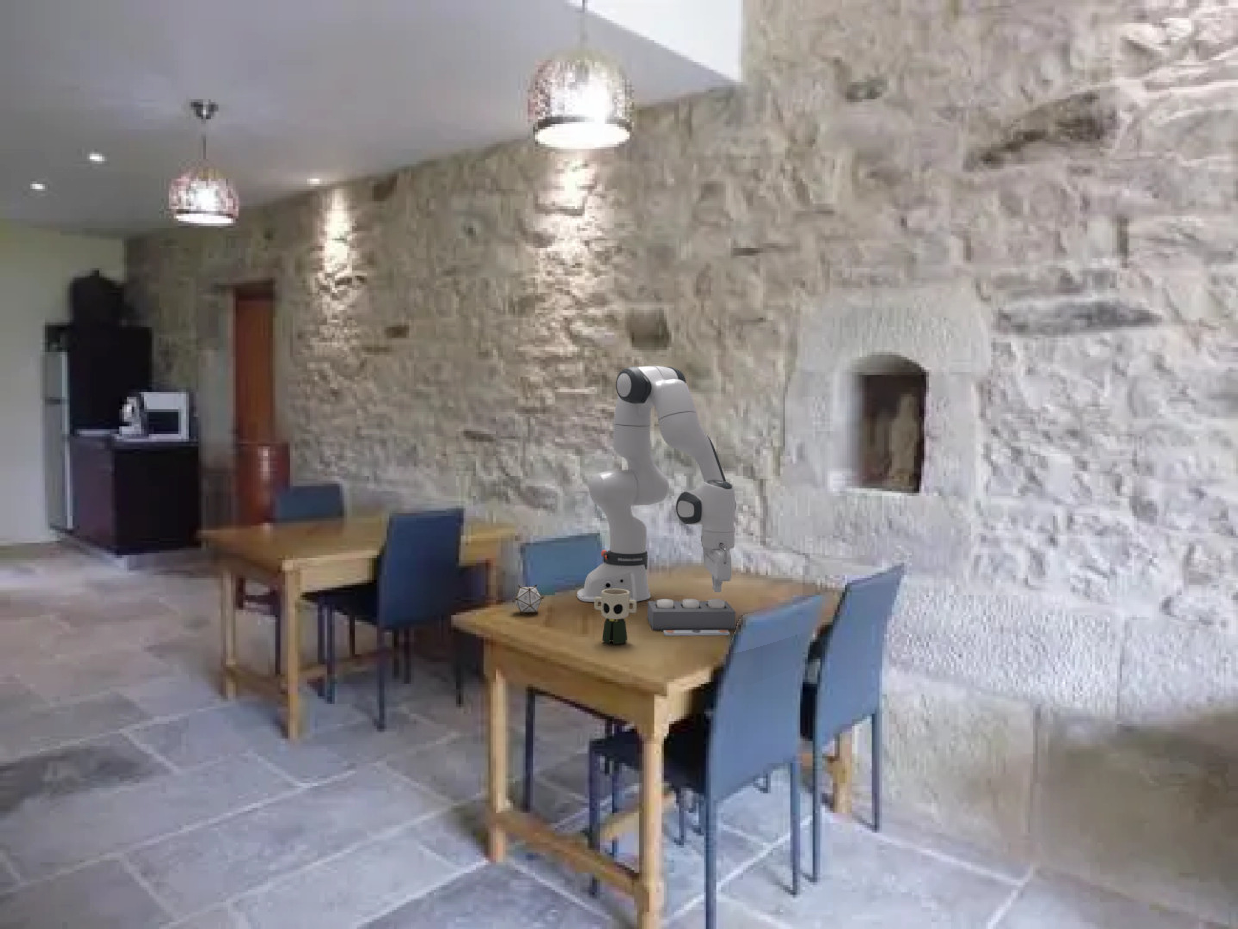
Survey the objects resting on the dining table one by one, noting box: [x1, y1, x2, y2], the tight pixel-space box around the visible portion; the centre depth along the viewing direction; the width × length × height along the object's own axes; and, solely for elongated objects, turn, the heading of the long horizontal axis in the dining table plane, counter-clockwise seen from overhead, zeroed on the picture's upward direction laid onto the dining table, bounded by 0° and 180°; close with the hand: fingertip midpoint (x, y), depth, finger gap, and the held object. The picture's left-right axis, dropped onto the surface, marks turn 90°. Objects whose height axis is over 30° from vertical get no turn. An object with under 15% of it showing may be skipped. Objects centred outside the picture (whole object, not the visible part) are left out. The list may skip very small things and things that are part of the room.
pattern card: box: [662, 630, 731, 637], centre depth 233 cm, size 17×3×1 cm, turn 95°
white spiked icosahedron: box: [511, 584, 545, 615], centre depth 251 cm, size 9×8×10 cm
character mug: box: [593, 589, 638, 645], centre depth 223 cm, size 11×7×13 cm, turn 75°
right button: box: [707, 598, 726, 608], centre depth 243 cm, size 4×4×3 cm
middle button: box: [682, 598, 700, 609], centre depth 242 cm, size 4×4×3 cm
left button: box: [656, 598, 674, 609], centre depth 241 cm, size 4×4×3 cm
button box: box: [646, 600, 736, 631], centre depth 242 cm, size 22×12×5 cm, turn 95°
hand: (716, 591), depth 242 cm, fingers closed
